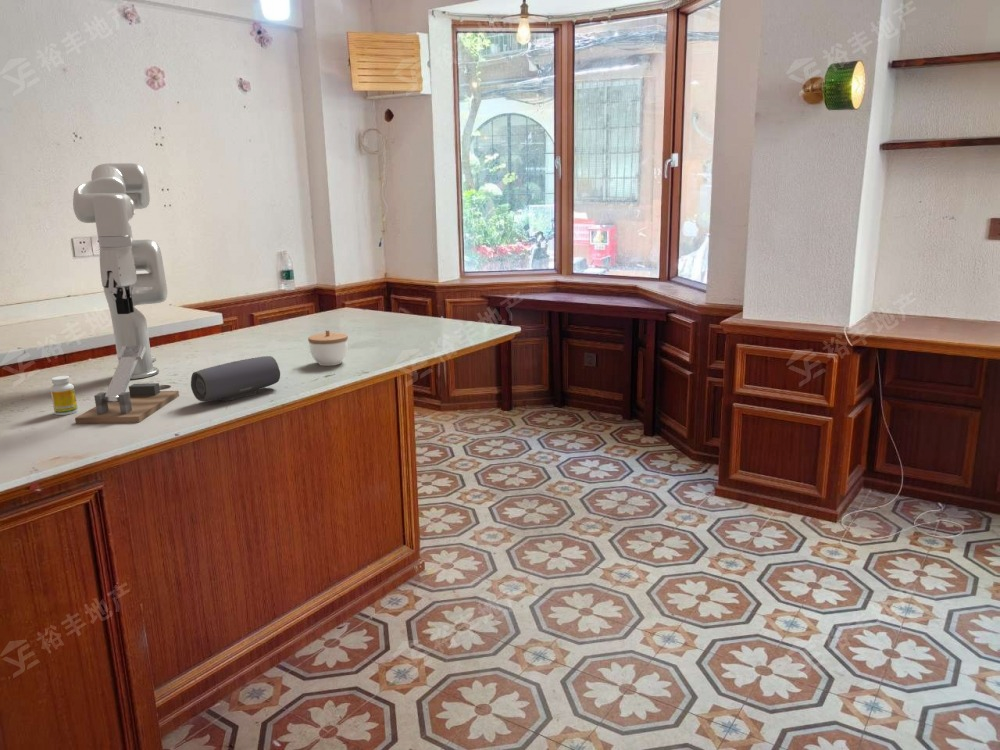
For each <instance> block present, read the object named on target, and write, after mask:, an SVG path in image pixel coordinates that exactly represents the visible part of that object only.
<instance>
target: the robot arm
mask: <svg viewBox="0 0 1000 750" xmlns="http://www.w3.org/2000/svg"><path fill="white" fill-rule="evenodd" d="M90 176H91V179H90V181H87V182H84V183H82V184H80V185H78V186H77V187H76V188H75V189H74V192H73V196H72V197H73V198H72V207H73V213H74V215H75V218H77V219H78V220H79V222H81V223H84V224H94V223H95V227H96V234H97V239H98V246H99V269H100V278H101V286H102V287H103V293H104V296H105V298H106V301H107V304H108V309H109V312H110V316H111V317H110V318H111V323H112V330H113V336H114V343H115V351H116V355H117V357H118V355H119V353H120V350H121V348H122V346H145V348H146V350H145V353H144V355H143V358H142V360H138V361H137V364H136V366H135V369H134V371H133V374H132V376H131V379H130V380H136V379H143V378H149V377H152V376H155V375H157V374H158V373H159V372H160V370H159V368H158V367H157V366H153V365H154V364H153V363H155V362H156V361H157V359H156V357H155V356H152V351H151V345H150V337H149V330H148V324H147V319H146V317H145V315H144V314H143V313H142V312H141V311H140V310H139V309H138V308H137V307H136V306H140V305H155V304H161V303H164V302H165V301H166V300H167V298H168V287H167V285H168V284H167V279H166V273H165V267H164V261H163V256H162V255H163V254H162V252H161V247H160V246H159V244H158V242H156V241H155V240H153V239H134V238H133V233H132V226H131V224H130V223H129V221H131V220H132V219H133V217H134V215H135V214H136V210H143V209H146V208H147V207H149V204H150V202H151V201H150V199H151V197H150V187H149V179H148V176H147V174H146V171H145V169H144V168H143V167H142V166H141V165H140V164H137V163H132V162H131V163H130V162H129V163H128V162H127V163H126V162H125V163H121V162H119V163H101V164H98V165H97V166H95V167H94V168H93V170H92V171H91V175H90ZM139 271H146V273H137V272H139ZM119 361H120V360H119V359H118V358H117V362H118V364H119Z"/></svg>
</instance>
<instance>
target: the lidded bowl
mask: <svg viewBox="0 0 1000 750" xmlns="http://www.w3.org/2000/svg"><path fill="white" fill-rule="evenodd" d="M348 338H349V336H348V335H347V334H346V333H341V332H331V331H330V330H328V329H327V330H325V332H323V333H317V334H316V333H315V334H313V335H310V336H308V338H307V340H308V344H309V345H308V346H309V347H308V348H309V351H310V352H309V353H310V354H311V356H312V357H311V358H313V360H314V361H315V362H317V363H318V366H325V367H331V366H337V365H340V364H342V361H344V359H345V358H346V357H347V353H348V349H349V348H348V344H349V343H348Z"/></svg>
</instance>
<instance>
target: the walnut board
mask: <svg viewBox="0 0 1000 750" xmlns="http://www.w3.org/2000/svg"><path fill="white" fill-rule="evenodd" d="M106 392H107V391H104V392H98V393H97V394H95V395H94V396H93V397H94V403H95V406H94V407H92V408H90V409H88V410H87V411H85V412H83V413H81V414H79V415H78V416H76V417H74V420H75V424H78V425H79V424H80V425H81V424H115V423H116V424H119V423H120V424H122V423H141V422H142V421H144V420H145V419H147V418H148V417H150V416H151V415H153V414H154V413H156V412H157V411H158V410H161V409H162V408H164V407H165V406H166V405H168V404H169V403H171V402H172V401H174V400H175V399H177V398H178V397H179V396H180V392H179V390H160V393H159V394H157V395H154V396H130V392H129V391H125V392H123V393H121V394H119V395H118V398H119V402H114V403H104V401H103V398H104V397H105V394H106Z"/></svg>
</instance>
